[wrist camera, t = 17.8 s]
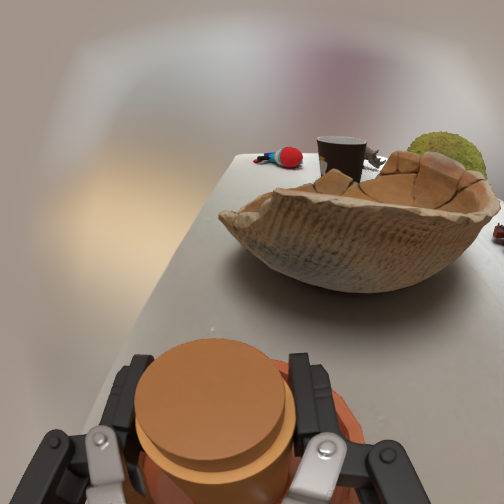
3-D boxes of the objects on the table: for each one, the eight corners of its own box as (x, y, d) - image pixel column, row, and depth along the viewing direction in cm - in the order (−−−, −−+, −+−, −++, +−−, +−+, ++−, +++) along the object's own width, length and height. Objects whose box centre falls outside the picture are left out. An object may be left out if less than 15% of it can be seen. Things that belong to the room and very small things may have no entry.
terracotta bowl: (117, 555, 8) (76, 546, 6) (150, 392, 20) (129, 352, 17) (359, 563, 8) (386, 561, 6) (331, 389, 19) (340, 348, 17)
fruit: (419, 224, 41) (394, 129, 40) (408, 221, 54) (389, 147, 53) (505, 205, 34) (480, 114, 33) (478, 206, 47) (459, 133, 46)
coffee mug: (365, 204, 48) (369, 146, 43) (315, 201, 50) (315, 142, 45) (360, 184, 57) (362, 135, 52) (318, 181, 60) (318, 133, 55)
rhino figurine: (382, 175, 63) (383, 149, 60) (329, 164, 71) (330, 141, 68) (386, 171, 66) (388, 147, 63) (336, 162, 74) (336, 139, 71)
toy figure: (251, 168, 76) (289, 169, 64) (249, 149, 75) (287, 147, 63) (274, 165, 80) (313, 166, 68) (272, 147, 78) (312, 145, 67)
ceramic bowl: (275, 190, 50) (287, 101, 41) (430, 238, 43) (461, 152, 34) (170, 309, 26) (159, 141, 18) (453, 400, 20) (560, 266, 11)
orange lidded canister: (181, 515, 11) (103, 458, 6) (191, 433, 16) (144, 329, 11) (289, 518, 11) (307, 471, 6) (284, 433, 15) (290, 327, 11)
